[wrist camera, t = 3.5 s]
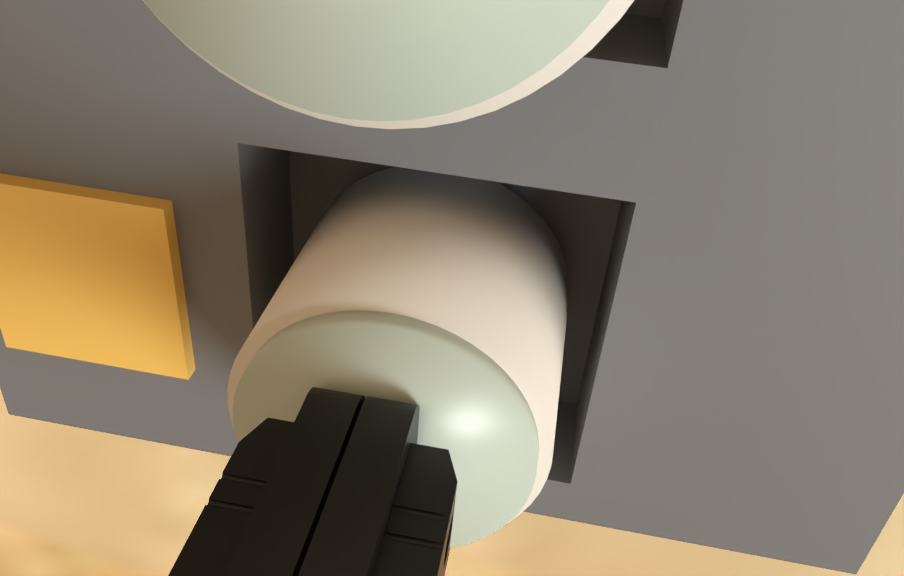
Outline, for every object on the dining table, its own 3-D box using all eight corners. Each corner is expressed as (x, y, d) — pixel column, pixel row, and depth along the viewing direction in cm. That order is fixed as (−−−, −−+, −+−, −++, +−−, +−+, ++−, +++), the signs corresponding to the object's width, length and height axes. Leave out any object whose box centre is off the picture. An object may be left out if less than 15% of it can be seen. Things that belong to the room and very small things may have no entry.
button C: (591, 186, 13) (578, 347, 10) (549, 402, 16) (528, 585, 13) (306, 145, 14) (202, 283, 11) (313, 361, 17) (233, 526, 13)
